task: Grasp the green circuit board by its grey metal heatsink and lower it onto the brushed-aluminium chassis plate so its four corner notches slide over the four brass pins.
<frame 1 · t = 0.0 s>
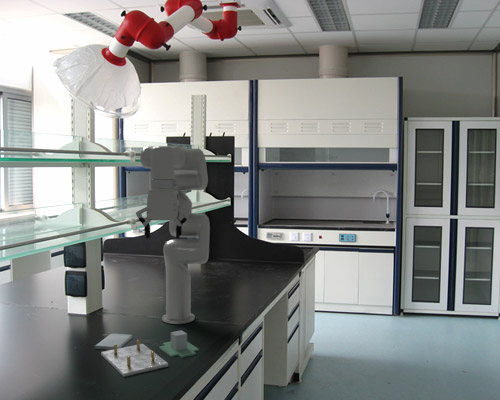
hand: (163, 237, 168), 37 cm above the countertop, tool pointing down, fingers open, 9 cm apart
chassis: (133, 360, 162), on the countertop
circuit board: (178, 349, 172), on the countertop
hard drive: (114, 345, 178), on the countertop
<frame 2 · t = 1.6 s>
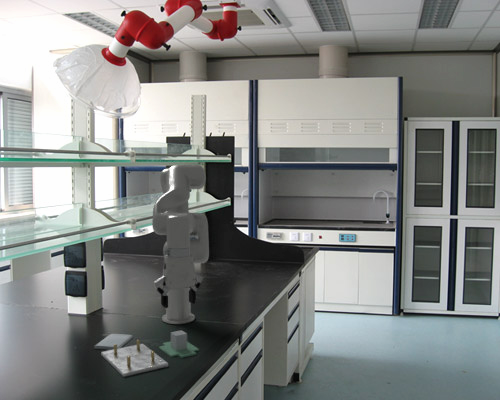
hand: (178, 304, 170), 15 cm above the countertop, tool pointing down, fingers open, 9 cm apart
nothing on the countertop moved.
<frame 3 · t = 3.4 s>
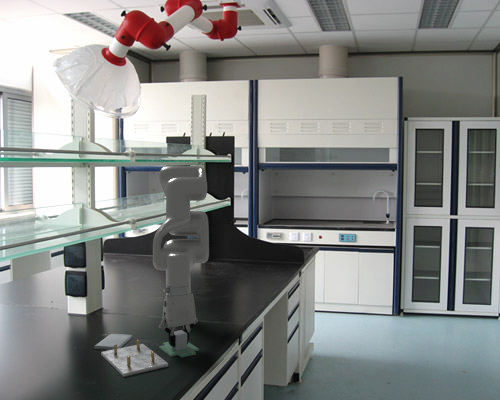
hand: (178, 344, 172), 2 cm above the countertop, tool pointing down, fingers closed on circuit board, 4 cm apart
circuit board: (178, 349, 172), on the countertop, touching gripper
everything else where it was.
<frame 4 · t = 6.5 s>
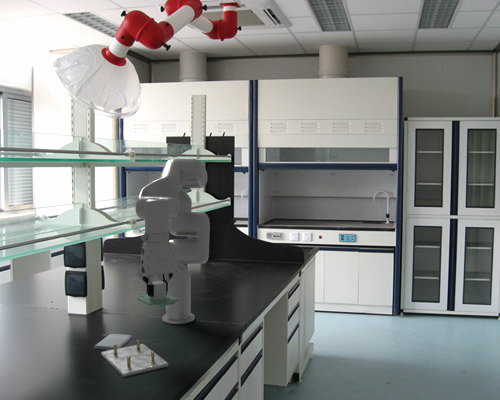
hand: (157, 294, 166), 20 cm above the countertop, tool pointing down, fingers closed on circuit board, 4 cm apart
circuit board: (157, 300, 166), point 18 cm above the countertop, touching gripper
everything else where it was.
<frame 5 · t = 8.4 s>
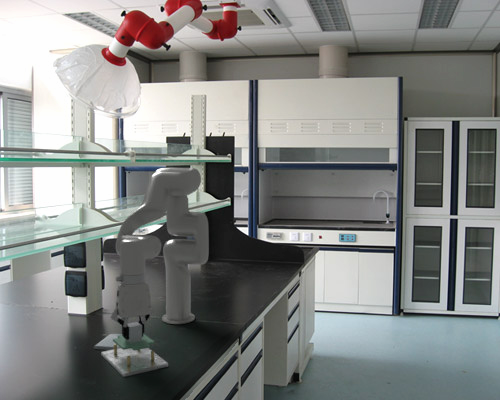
hand: (133, 336, 162), 8 cm above the countertop, tool pointing down, fingers closed on circuit board, 4 cm apart
circuit board: (133, 342, 162), point 6 cm above the countertop, touching gripper
everything else where it was.
when the fingers open (4 cm above the countertop, at t = 9.8 s): circuit board drops 1 cm, resting on chassis.
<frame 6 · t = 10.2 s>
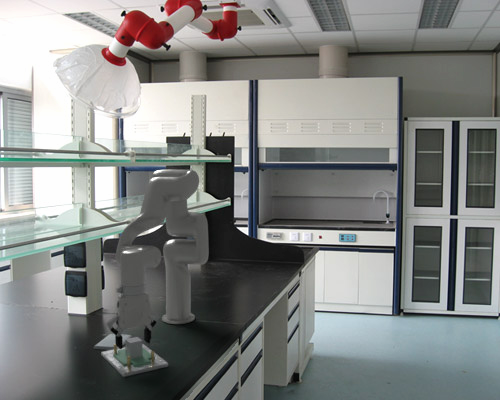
hand: (133, 344, 162), 5 cm above the countertop, tool pointing down, fingers open, 8 cm apart
circuit board: (134, 357, 162), point 1 cm above the countertop, touching chassis
everything else where it was.
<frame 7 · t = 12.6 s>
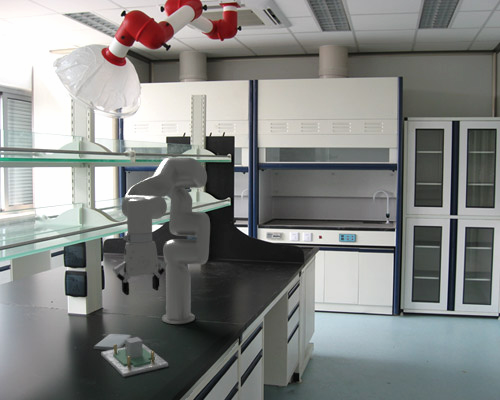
hand: (141, 291, 164), 21 cm above the countertop, tool pointing down, fingers open, 9 cm apart
nothing on the countertop moved.
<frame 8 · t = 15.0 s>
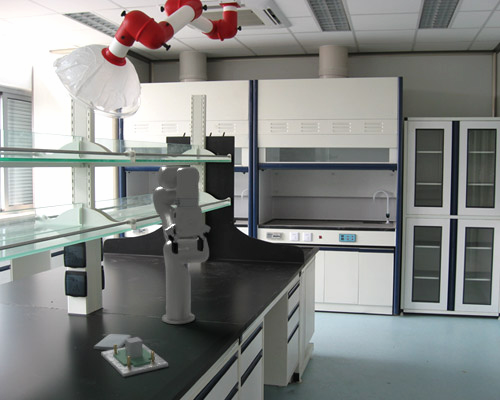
hand: (187, 252, 182), 30 cm above the countertop, tool pointing down, fingers open, 9 cm apart
nothing on the countertop moved.
at the end: circuit board 0.1 cm off-centre on the chassis, point 1.0 cm above the chassis's base; circuit board tilted 0°; the gripper is holding nothing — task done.
